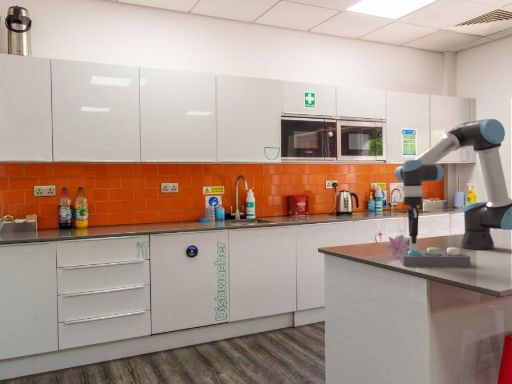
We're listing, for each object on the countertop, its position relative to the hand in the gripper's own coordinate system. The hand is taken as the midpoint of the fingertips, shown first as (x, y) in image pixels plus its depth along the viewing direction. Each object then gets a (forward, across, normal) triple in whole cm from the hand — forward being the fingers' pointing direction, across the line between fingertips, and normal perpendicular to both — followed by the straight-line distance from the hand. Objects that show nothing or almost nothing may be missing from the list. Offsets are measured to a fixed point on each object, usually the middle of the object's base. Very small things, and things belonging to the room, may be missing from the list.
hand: (413, 250), depth 187 cm
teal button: (+4, 0, 0) cm, 4 cm away
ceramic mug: (+6, -32, +1) cm, 32 cm away
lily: (+6, -16, -5) cm, 17 cm away
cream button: (+3, 0, +16) cm, 16 cm away
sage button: (+3, 0, +8) cm, 9 cm away
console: (+6, 0, +8) cm, 10 cm away
